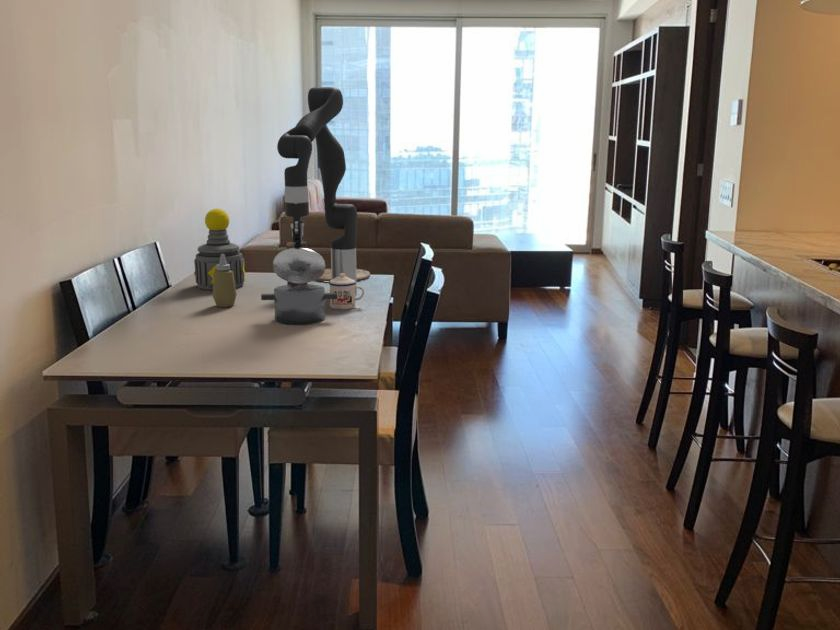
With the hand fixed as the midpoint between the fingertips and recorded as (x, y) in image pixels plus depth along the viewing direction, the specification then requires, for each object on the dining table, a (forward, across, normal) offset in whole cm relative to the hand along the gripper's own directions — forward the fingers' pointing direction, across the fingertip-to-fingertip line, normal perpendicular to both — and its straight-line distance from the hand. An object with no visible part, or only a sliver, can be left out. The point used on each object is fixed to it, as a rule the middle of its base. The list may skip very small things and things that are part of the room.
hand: (298, 255), depth 257 cm
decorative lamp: (+22, -56, -34) cm, 69 cm away
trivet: (+22, -72, +12) cm, 76 cm away
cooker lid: (+4, -1, 0) cm, 4 cm away
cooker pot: (+21, +2, 0) cm, 21 cm away
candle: (+21, -35, -3) cm, 41 cm away
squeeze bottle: (+21, -20, -27) cm, 40 cm away
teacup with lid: (+21, -15, +15) cm, 30 cm away
